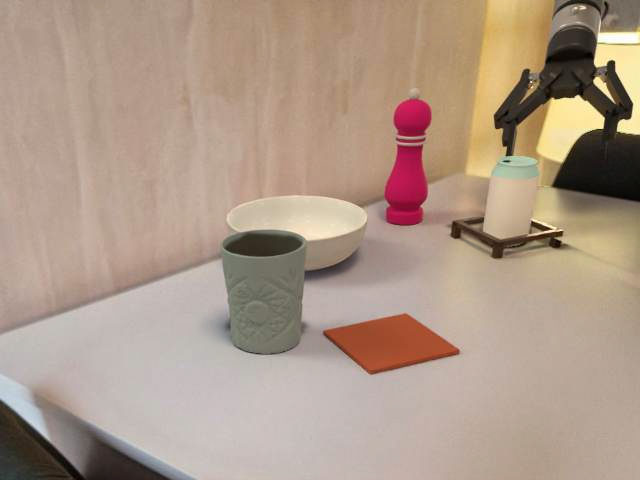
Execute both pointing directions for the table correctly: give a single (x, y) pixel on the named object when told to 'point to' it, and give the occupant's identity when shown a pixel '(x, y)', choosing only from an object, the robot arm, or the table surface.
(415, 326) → the mat
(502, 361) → the table surface
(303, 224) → the serving bowl
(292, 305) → the grey ceramic cup
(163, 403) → the table surface
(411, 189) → the pepper mill
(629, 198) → the table surface
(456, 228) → the square trivet stand
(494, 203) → the can
